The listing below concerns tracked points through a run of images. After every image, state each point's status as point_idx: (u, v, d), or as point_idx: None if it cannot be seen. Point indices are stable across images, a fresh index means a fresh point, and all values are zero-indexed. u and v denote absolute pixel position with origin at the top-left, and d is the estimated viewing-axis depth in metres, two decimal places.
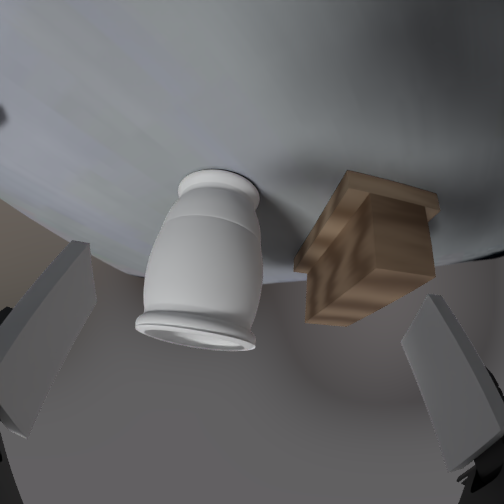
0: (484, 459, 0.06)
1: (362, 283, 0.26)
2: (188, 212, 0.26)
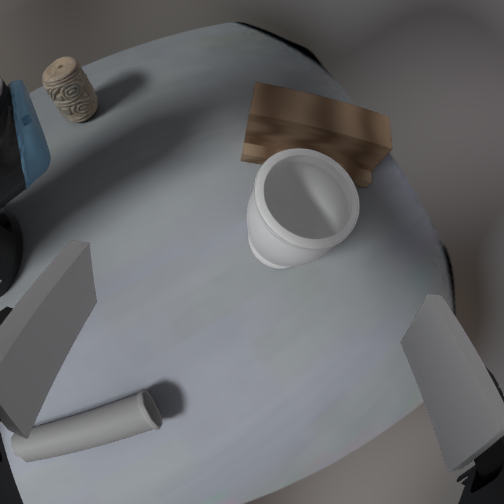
0: (484, 459, 0.06)
1: (275, 115, 0.38)
2: (249, 235, 0.38)
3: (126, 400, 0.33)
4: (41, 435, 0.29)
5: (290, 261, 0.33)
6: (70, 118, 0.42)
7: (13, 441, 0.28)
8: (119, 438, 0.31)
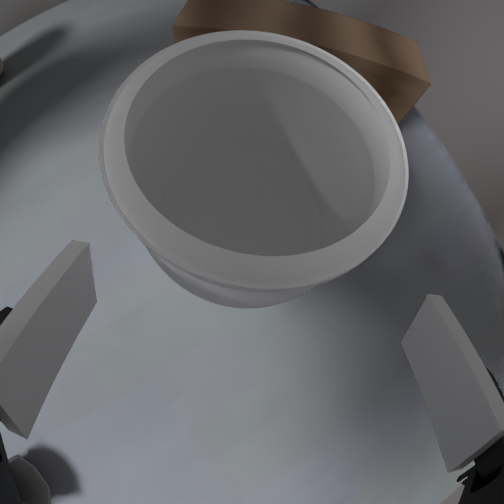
0: (484, 459, 0.06)
1: (220, 25, 0.18)
2: None
3: None
4: None
5: (231, 305, 0.13)
6: None
7: None
8: None
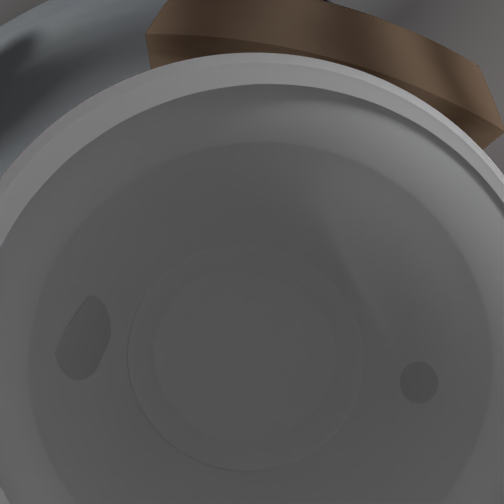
0: None
1: (217, 32, 0.12)
2: None
3: None
4: None
5: None
6: None
7: None
8: None
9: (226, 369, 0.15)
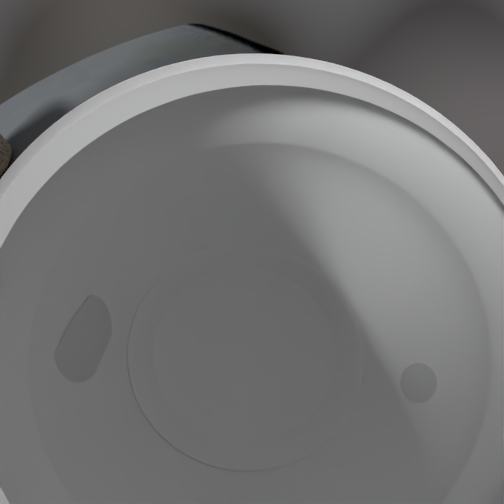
0: None
1: None
2: None
3: None
4: None
5: None
6: None
7: None
8: None
9: (226, 369, 0.15)
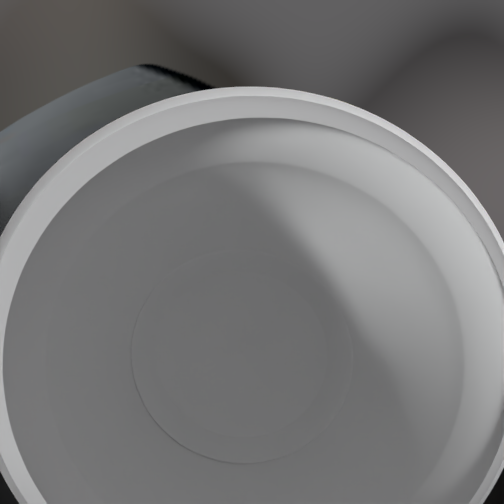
0: None
1: None
2: None
3: None
4: None
5: None
6: None
7: None
8: None
9: (224, 368, 0.16)
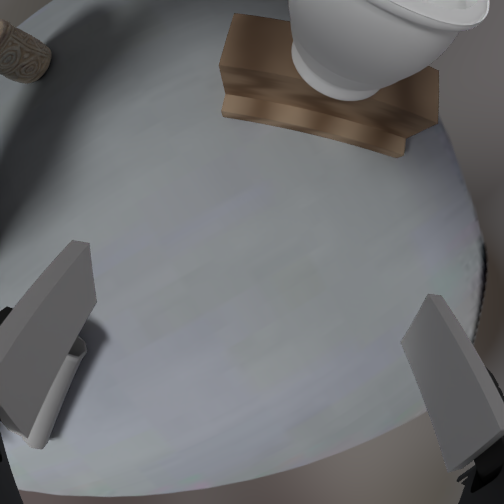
0: (484, 459, 0.06)
1: (259, 66, 0.23)
2: (293, 33, 0.18)
3: None
4: None
5: (370, 61, 0.14)
6: (20, 81, 0.29)
7: (22, 437, 0.33)
8: (64, 385, 0.32)
9: None
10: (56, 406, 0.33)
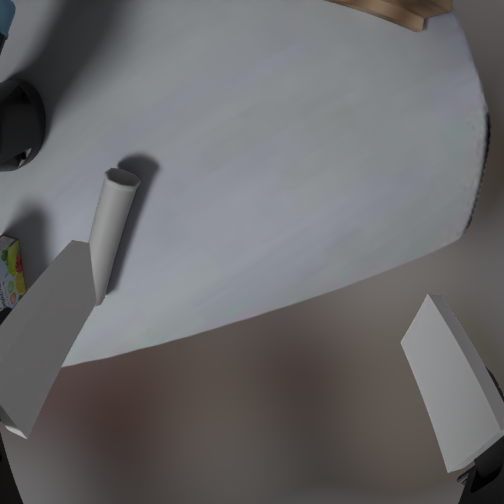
0: (484, 459, 0.06)
1: None
2: None
3: (102, 188, 0.40)
4: None
5: None
6: None
7: None
8: (121, 220, 0.42)
9: None
10: (114, 246, 0.44)
